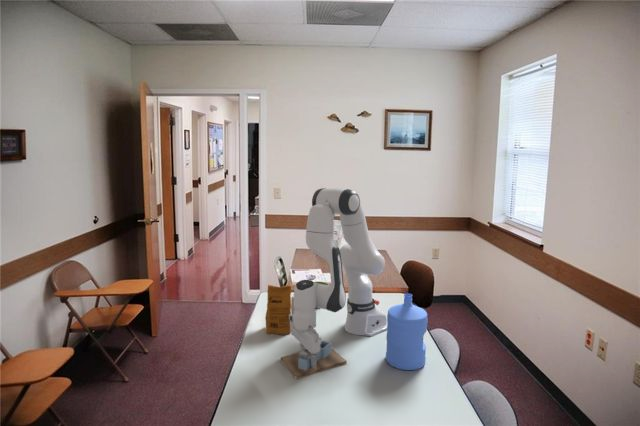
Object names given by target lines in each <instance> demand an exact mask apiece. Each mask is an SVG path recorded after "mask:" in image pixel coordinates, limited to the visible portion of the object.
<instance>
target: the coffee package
mask: <svg viewBox="0 0 640 426" xmlns="http://www.w3.org/2000/svg"><path fill="white" fill-rule="evenodd" d="M291 295H292V285H291V284H288V285H283V286H276V285H269V284H268V285H267V303H266V313H265V333H266V334H267V335H271V334H275V335H279V336H280V335H289V334H291V331H290V320H289V315H290V314H292V309H291V297H292V296H291Z"/></svg>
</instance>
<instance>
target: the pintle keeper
mask: <svg viewBox="0 0 640 426" xmlns="http://www.w3.org/2000/svg"><path fill="white" fill-rule="evenodd" d="M319 338H320V347H321V348H322V340H323V338H321V337H319ZM299 352H300V353H299V357H303V358H307V359H310V358H311V369H317V353H316V354H311V353H310V352H309V351H308V350H306V349H303V350H302V351H299Z"/></svg>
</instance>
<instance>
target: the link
mask: <svg viewBox="0 0 640 426" xmlns="http://www.w3.org/2000/svg"><path fill="white" fill-rule="evenodd" d="M332 345H333V342H330V341H327V340H323V339H322V348H321V347H320V352H319V353H317V361H318V360H319V359H320V358H323V359H324V358H325V357H327V356H328V355H329V354H330V353H331V352H332V349H333V346H332ZM310 367H311V358H310V359H307V358H303V357H300V358H298V368H299V369H302V370H305V371H306V370H307V369H309V368H310Z"/></svg>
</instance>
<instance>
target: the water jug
mask: <svg viewBox="0 0 640 426" xmlns="http://www.w3.org/2000/svg"><path fill="white" fill-rule="evenodd" d="M403 297H404V298H403V303H400V304H396V305H393V306H391V307H390V308H388V310H387V315H386V319H387V330H386V351H385V359H386V361H387V363H388V364H389V365H390V366H391V367H393V368H395V369H398V370H402V371H414V370H418V369H421V368H423V367H424V365H425V364H426V359H427V358H426V351H427V347H426V344H425V342H424V337H425V336H424V335H425V333H426V332H427V330H428V313H427V311H426V310H425V309H424V308H422V307H419V306H417V305H415V304H413V294H412V293H404V295H403Z"/></svg>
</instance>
